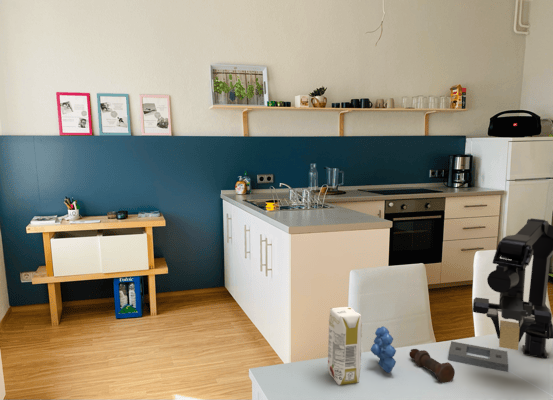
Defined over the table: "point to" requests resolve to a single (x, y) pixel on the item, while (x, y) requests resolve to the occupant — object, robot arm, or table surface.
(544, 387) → the table surface
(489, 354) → the grey slotted plate
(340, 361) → the juice carton
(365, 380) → the table surface
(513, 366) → the table surface
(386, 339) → the grapes
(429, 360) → the bolt
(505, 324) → the wooden block
